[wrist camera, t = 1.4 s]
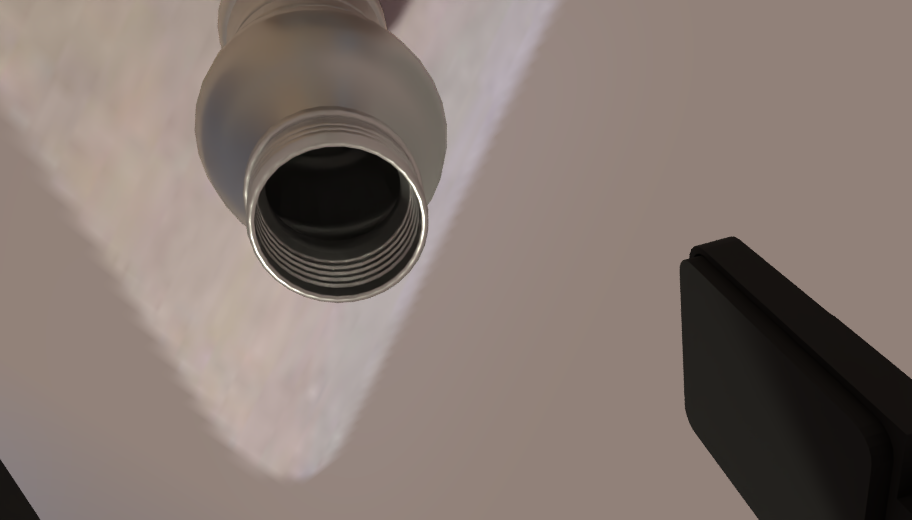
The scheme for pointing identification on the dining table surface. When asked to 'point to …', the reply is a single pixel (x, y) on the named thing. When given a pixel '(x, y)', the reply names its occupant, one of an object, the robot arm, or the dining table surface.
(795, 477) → the robot arm
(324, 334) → the dining table surface
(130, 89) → the dining table surface
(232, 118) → the plastic bottle
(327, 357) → the dining table surface
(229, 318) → the dining table surface
